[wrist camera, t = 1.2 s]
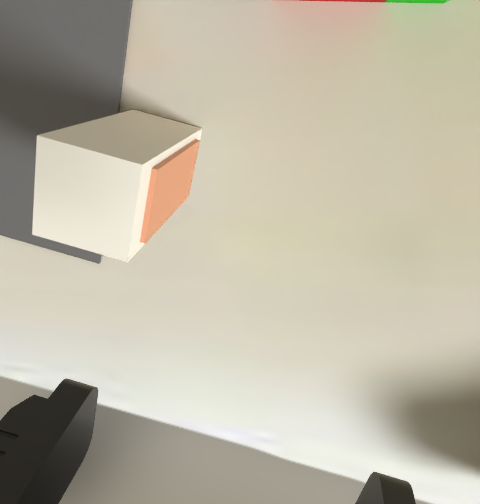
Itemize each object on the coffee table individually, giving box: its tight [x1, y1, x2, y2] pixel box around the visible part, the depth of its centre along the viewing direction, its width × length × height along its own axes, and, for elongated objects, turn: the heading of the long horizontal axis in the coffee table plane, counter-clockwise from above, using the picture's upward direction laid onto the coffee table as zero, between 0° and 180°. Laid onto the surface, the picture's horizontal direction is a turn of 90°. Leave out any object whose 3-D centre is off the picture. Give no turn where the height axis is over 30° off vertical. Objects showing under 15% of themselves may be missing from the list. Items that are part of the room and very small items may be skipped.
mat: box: [0, 0, 132, 264], centre depth 32 cm, size 20×12×1 cm, turn 166°
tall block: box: [32, 109, 202, 262], centre depth 27 cm, size 5×5×12 cm
